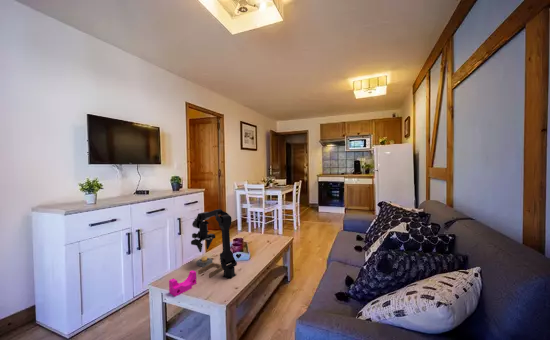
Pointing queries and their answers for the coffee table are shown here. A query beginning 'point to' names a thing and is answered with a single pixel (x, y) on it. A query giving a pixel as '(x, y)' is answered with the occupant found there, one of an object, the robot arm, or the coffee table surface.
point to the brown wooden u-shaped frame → (210, 267)
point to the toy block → (182, 284)
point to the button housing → (203, 264)
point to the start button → (204, 258)
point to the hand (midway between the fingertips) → (204, 250)
